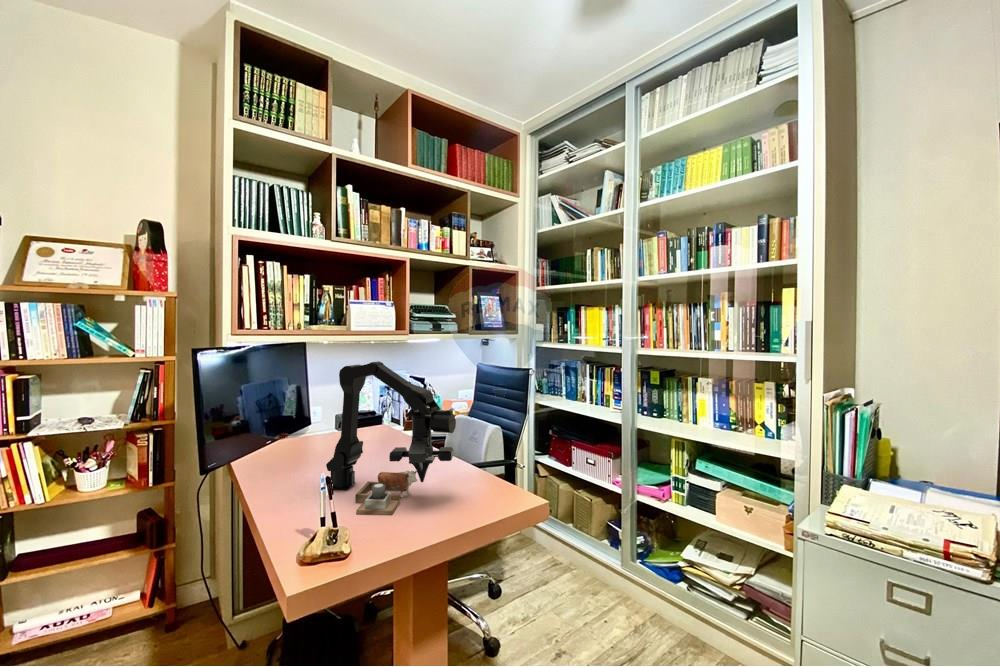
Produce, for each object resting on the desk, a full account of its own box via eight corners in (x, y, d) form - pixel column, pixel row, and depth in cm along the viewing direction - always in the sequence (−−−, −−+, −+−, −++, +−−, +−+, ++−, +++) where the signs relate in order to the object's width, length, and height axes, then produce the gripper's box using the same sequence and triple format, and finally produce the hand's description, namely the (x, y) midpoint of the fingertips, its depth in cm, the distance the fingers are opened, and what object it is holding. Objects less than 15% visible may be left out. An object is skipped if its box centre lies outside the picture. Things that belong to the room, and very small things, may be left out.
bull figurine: (415, 500, 122) (414, 473, 122) (375, 496, 126) (374, 470, 125) (422, 494, 126) (421, 468, 126) (383, 491, 130) (382, 465, 130)
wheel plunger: (370, 498, 115) (370, 487, 115) (374, 493, 119) (374, 482, 119) (382, 499, 115) (382, 487, 115) (386, 493, 118) (386, 483, 118)
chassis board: (345, 514, 113) (345, 500, 113) (367, 489, 131) (367, 477, 131) (392, 515, 113) (392, 501, 113) (407, 490, 131) (407, 478, 131)
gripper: (383, 438, 118) (384, 492, 118) (448, 437, 117) (448, 492, 117) (394, 429, 129) (394, 478, 129) (453, 428, 128) (453, 478, 128)
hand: (422, 481), depth 125 cm, fingers closed
